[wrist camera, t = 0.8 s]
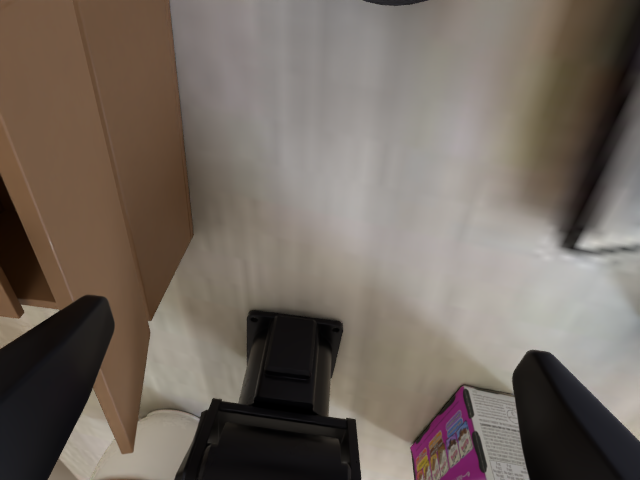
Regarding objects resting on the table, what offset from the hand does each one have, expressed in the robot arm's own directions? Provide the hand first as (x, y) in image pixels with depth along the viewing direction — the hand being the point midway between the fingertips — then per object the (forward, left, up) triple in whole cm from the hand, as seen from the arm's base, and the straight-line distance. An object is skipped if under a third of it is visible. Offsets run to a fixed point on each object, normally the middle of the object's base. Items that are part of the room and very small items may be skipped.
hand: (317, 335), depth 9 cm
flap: (-2, +7, -3) cm, 8 cm away
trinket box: (-33, +11, -13) cm, 37 cm away
